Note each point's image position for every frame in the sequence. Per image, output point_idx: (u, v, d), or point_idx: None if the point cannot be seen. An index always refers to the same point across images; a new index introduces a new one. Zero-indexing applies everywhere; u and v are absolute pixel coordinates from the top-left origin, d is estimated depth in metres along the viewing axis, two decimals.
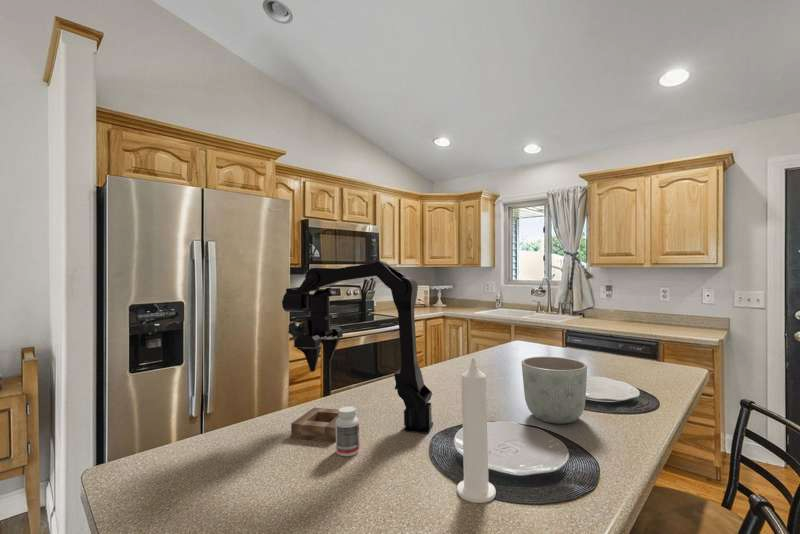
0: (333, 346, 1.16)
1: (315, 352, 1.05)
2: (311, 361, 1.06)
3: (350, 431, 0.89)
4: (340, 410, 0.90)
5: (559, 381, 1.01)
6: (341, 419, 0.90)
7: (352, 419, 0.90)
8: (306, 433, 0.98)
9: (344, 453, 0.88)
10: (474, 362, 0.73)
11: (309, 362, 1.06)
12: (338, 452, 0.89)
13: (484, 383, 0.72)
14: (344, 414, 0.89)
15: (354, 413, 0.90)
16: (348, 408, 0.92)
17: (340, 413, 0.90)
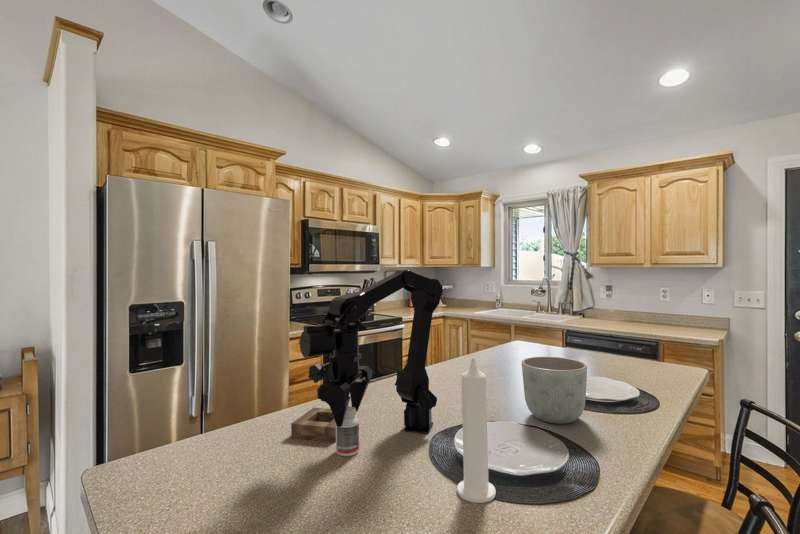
0: (362, 391, 0.95)
1: (343, 404, 0.84)
2: (338, 414, 0.86)
3: (350, 431, 0.89)
4: None
5: (559, 381, 1.01)
6: None
7: (352, 419, 0.90)
8: (306, 433, 0.98)
9: (344, 453, 0.88)
10: (474, 362, 0.73)
11: (335, 415, 0.86)
12: (338, 452, 0.89)
13: (484, 383, 0.72)
14: None
15: (354, 413, 0.90)
16: (348, 408, 0.92)
17: None
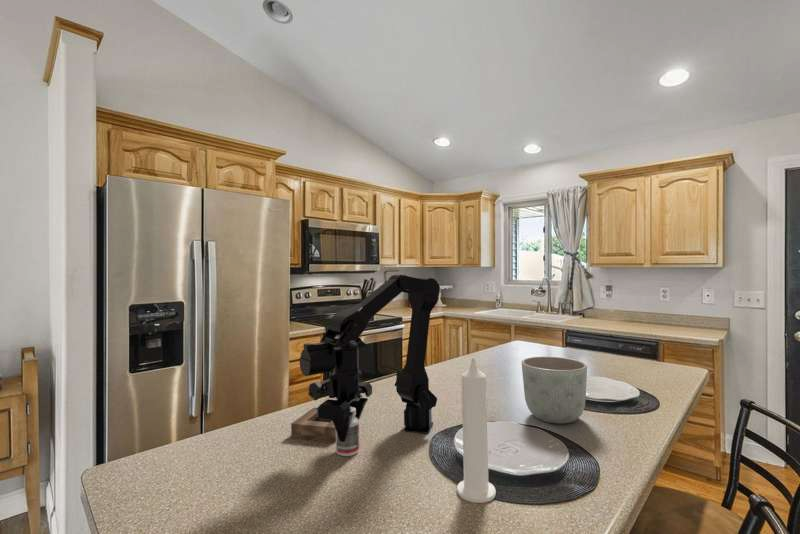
0: (359, 410, 0.94)
1: (346, 420, 0.86)
2: (341, 430, 0.87)
3: (350, 431, 0.89)
4: None
5: (559, 381, 1.01)
6: None
7: (352, 419, 0.90)
8: (306, 433, 0.98)
9: (344, 453, 0.88)
10: (474, 362, 0.73)
11: (338, 430, 0.88)
12: (338, 452, 0.89)
13: (484, 383, 0.72)
14: None
15: (354, 413, 0.90)
16: None
17: None
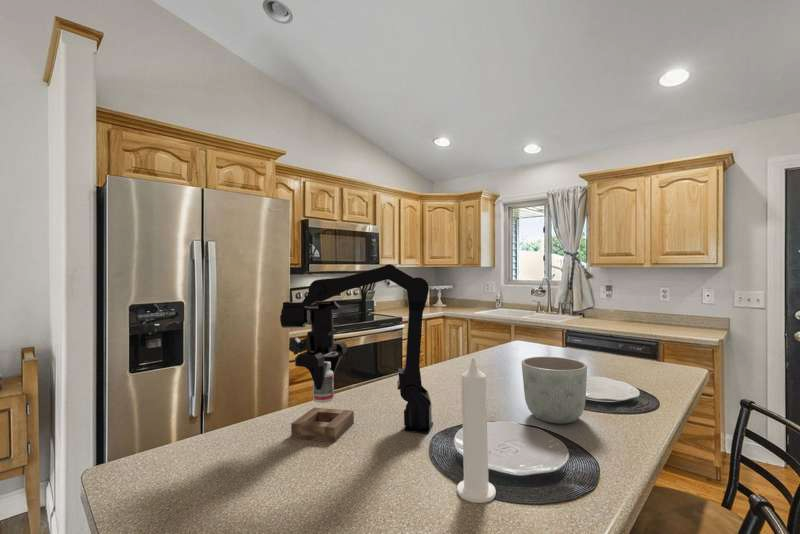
0: (334, 364, 1.06)
1: (321, 369, 0.99)
2: (317, 379, 1.00)
3: (325, 381, 1.01)
4: None
5: (559, 381, 1.01)
6: None
7: (327, 371, 1.02)
8: (306, 433, 0.98)
9: (320, 400, 1.01)
10: (474, 362, 0.73)
11: (315, 379, 1.00)
12: (315, 399, 1.02)
13: (484, 383, 0.72)
14: None
15: (329, 365, 1.03)
16: (324, 362, 1.04)
17: None
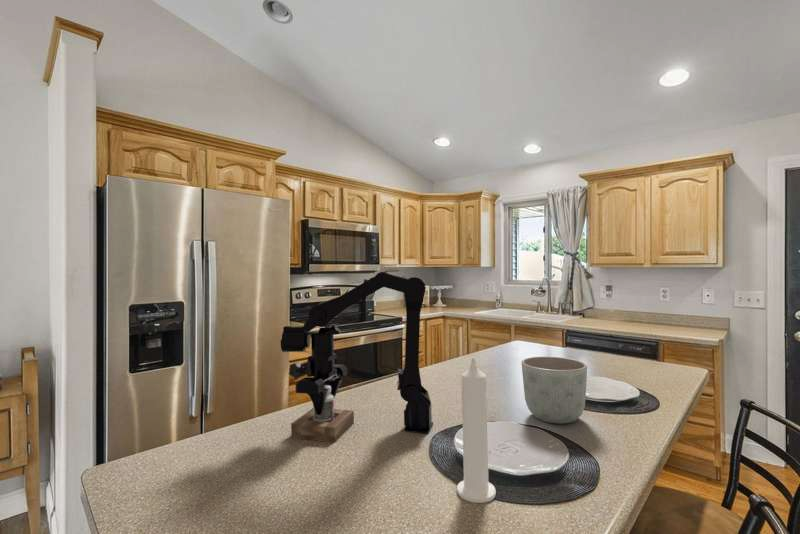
0: (335, 388, 1.06)
1: (321, 395, 0.99)
2: (317, 404, 1.00)
3: (325, 406, 1.01)
4: None
5: (559, 381, 1.01)
6: None
7: (327, 396, 1.02)
8: (306, 433, 0.98)
9: None
10: (474, 362, 0.73)
11: (315, 404, 1.00)
12: None
13: (484, 383, 0.72)
14: None
15: (329, 390, 1.03)
16: None
17: None
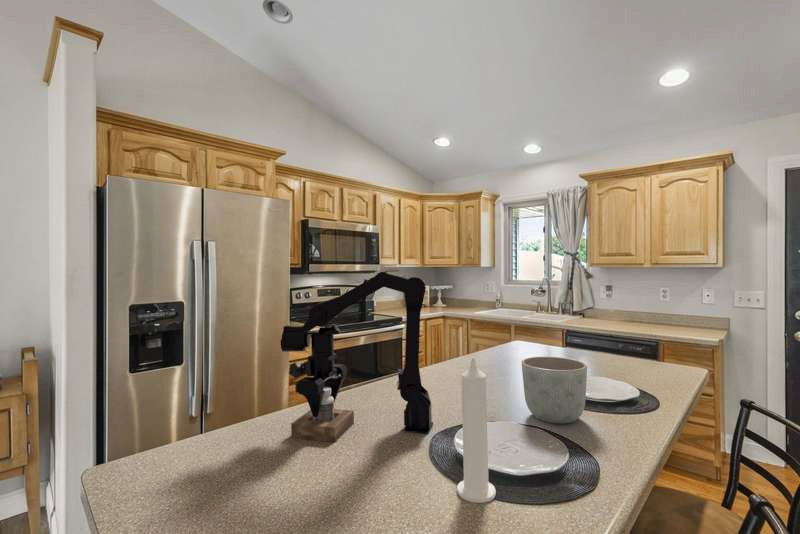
0: (337, 386, 1.08)
1: (318, 397, 0.97)
2: (314, 406, 0.98)
3: (325, 408, 1.01)
4: None
5: (559, 381, 1.01)
6: None
7: (327, 398, 1.02)
8: (306, 433, 0.98)
9: None
10: (474, 362, 0.73)
11: (311, 406, 0.99)
12: None
13: (484, 383, 0.72)
14: None
15: (329, 392, 1.03)
16: (324, 388, 1.04)
17: None
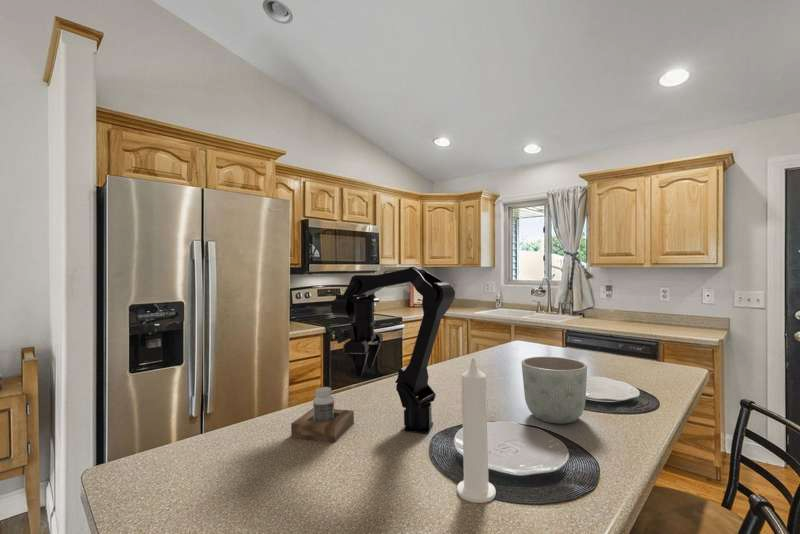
0: (375, 351, 1.19)
1: (363, 357, 1.08)
2: (359, 366, 1.09)
3: (325, 408, 1.01)
4: (317, 390, 1.03)
5: (559, 381, 1.01)
6: (318, 397, 1.02)
7: (327, 398, 1.02)
8: (306, 433, 0.98)
9: None
10: (474, 362, 0.73)
11: (356, 367, 1.09)
12: None
13: (484, 383, 0.72)
14: (320, 393, 1.02)
15: (329, 392, 1.03)
16: (324, 388, 1.04)
17: (317, 392, 1.02)
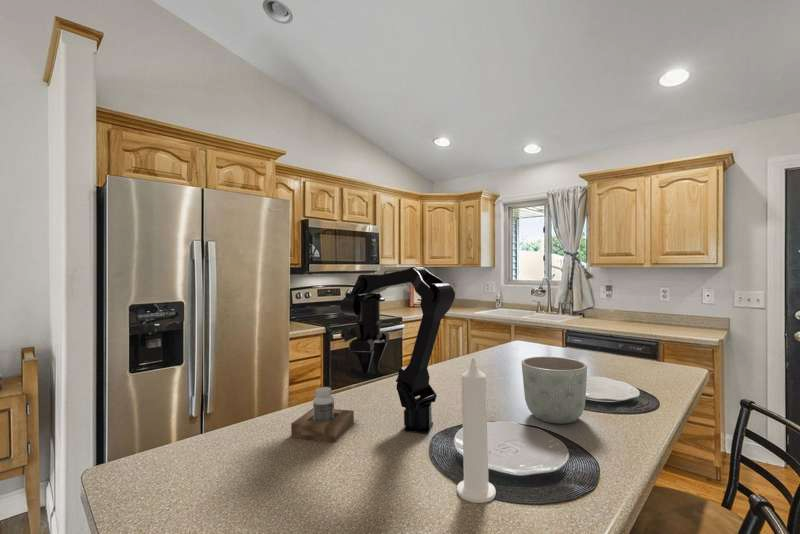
0: (381, 349, 1.20)
1: (369, 355, 1.09)
2: (364, 364, 1.11)
3: (325, 408, 1.01)
4: (317, 390, 1.03)
5: (559, 381, 1.01)
6: (318, 397, 1.02)
7: (327, 398, 1.02)
8: (306, 433, 0.98)
9: None
10: (474, 362, 0.73)
11: (362, 364, 1.11)
12: None
13: (484, 383, 0.72)
14: (320, 392, 1.02)
15: (329, 392, 1.03)
16: (324, 388, 1.04)
17: (317, 392, 1.02)
